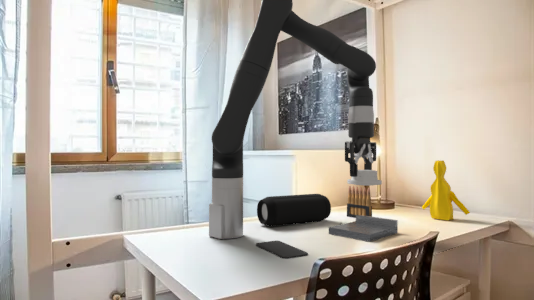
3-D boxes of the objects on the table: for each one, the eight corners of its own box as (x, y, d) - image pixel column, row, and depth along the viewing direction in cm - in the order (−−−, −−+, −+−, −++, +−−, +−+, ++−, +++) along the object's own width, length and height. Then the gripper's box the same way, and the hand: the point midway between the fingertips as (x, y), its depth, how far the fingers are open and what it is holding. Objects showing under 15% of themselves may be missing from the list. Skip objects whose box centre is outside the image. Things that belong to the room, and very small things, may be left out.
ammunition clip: (346, 216, 144) (346, 185, 144) (349, 215, 145) (349, 185, 145) (369, 220, 135) (369, 187, 135) (372, 219, 136) (372, 187, 137)
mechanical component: (376, 186, 104) (385, 184, 113) (376, 171, 104) (385, 170, 113) (342, 184, 110) (353, 182, 118) (342, 170, 110) (353, 169, 118)
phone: (283, 257, 85) (254, 243, 98) (283, 261, 85) (254, 246, 98) (310, 253, 89) (278, 240, 102) (310, 257, 89) (278, 243, 102)
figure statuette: (472, 221, 133) (472, 160, 133) (463, 224, 128) (462, 160, 128) (424, 215, 147) (424, 159, 147) (414, 217, 142) (414, 160, 142)
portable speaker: (316, 218, 139) (316, 192, 139) (332, 223, 131) (332, 194, 131) (255, 224, 127) (255, 195, 128) (269, 229, 119) (269, 198, 119)
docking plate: (369, 241, 102) (369, 227, 102) (328, 233, 112) (328, 220, 112) (397, 233, 113) (397, 220, 113) (357, 226, 123) (357, 214, 123)
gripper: (363, 124, 120) (363, 174, 120) (336, 121, 110) (336, 176, 110) (384, 122, 115) (384, 175, 114) (358, 119, 105) (358, 177, 104)
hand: (361, 176), depth 112 cm, fingers closed on mechanical component, 7 cm apart
